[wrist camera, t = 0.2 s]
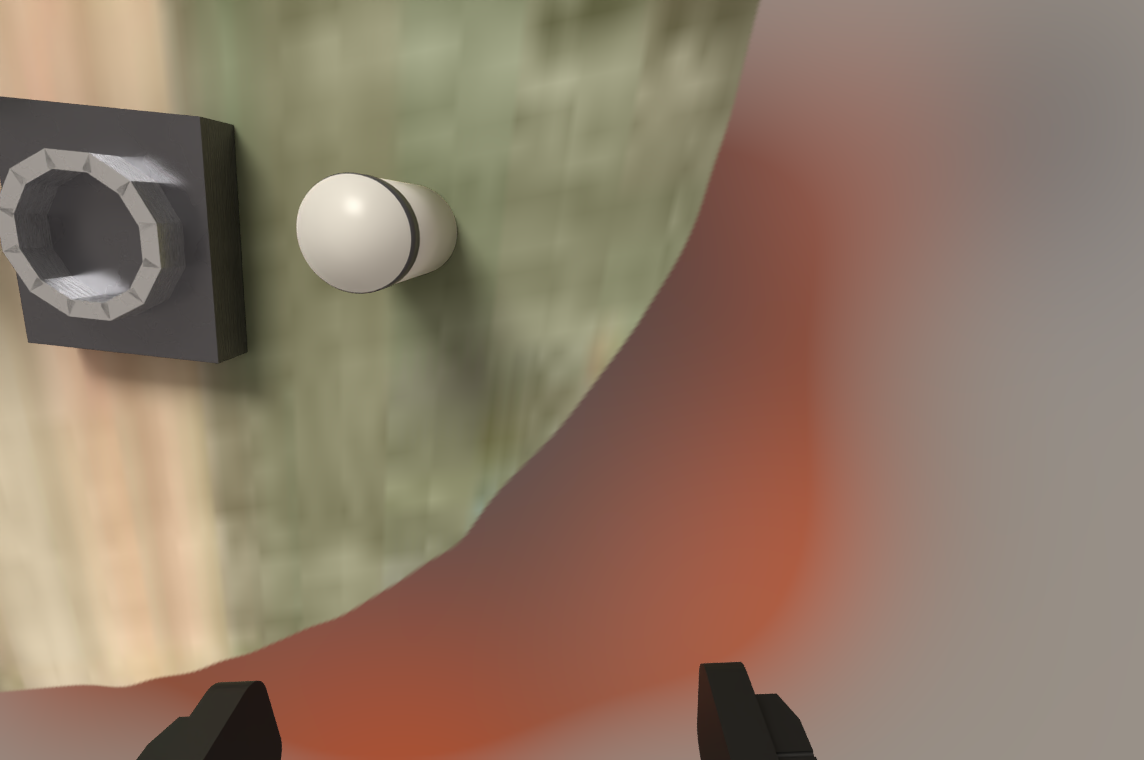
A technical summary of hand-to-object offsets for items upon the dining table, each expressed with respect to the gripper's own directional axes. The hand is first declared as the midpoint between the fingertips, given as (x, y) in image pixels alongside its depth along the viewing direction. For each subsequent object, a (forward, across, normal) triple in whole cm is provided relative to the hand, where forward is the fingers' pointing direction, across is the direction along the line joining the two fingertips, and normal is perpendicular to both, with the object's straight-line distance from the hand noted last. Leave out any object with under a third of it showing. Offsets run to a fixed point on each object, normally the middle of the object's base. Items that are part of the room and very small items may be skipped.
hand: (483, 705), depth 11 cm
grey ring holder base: (+30, +25, -7) cm, 39 cm away
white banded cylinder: (+29, +8, -6) cm, 30 cm away
